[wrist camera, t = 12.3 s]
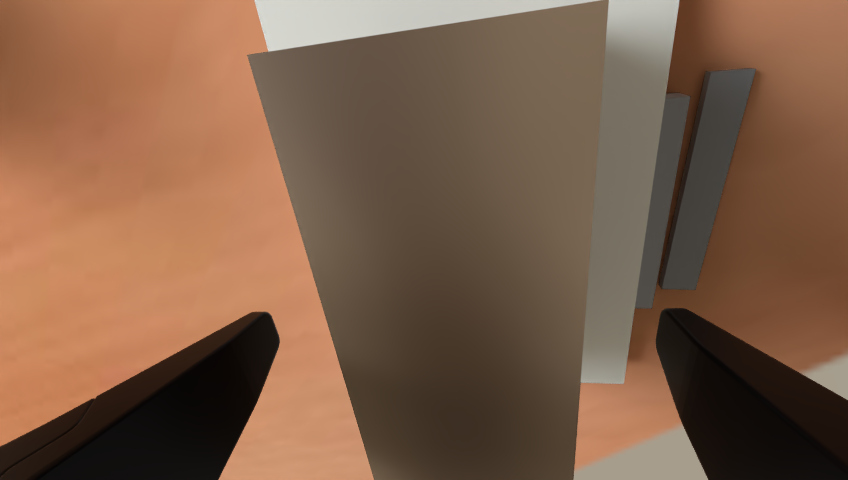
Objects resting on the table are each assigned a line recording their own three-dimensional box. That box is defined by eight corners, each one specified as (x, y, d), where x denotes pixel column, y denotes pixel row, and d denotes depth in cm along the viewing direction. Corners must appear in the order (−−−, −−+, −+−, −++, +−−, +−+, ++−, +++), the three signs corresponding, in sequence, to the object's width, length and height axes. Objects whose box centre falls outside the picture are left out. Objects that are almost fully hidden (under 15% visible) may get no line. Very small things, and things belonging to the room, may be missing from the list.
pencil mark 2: (710, 72, 12) (699, 70, 12) (661, 288, 15) (654, 278, 16) (756, 68, 12) (741, 67, 12) (695, 289, 15) (686, 278, 16)
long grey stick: (647, 94, 13) (673, 91, 13) (621, 291, 16) (641, 291, 16) (661, 99, 12) (690, 96, 12) (630, 308, 15) (652, 308, 15)
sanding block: (542, 23, 11) (608, -1, 5) (539, 347, 16) (569, 535, 10) (373, 48, 12) (247, 55, 6) (423, 345, 17) (385, 516, 11)
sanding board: (667, -77, 11) (693, -94, 9) (613, 358, 18) (623, 383, 16) (276, -5, 13) (251, -11, 12) (366, 354, 20) (357, 376, 19)
